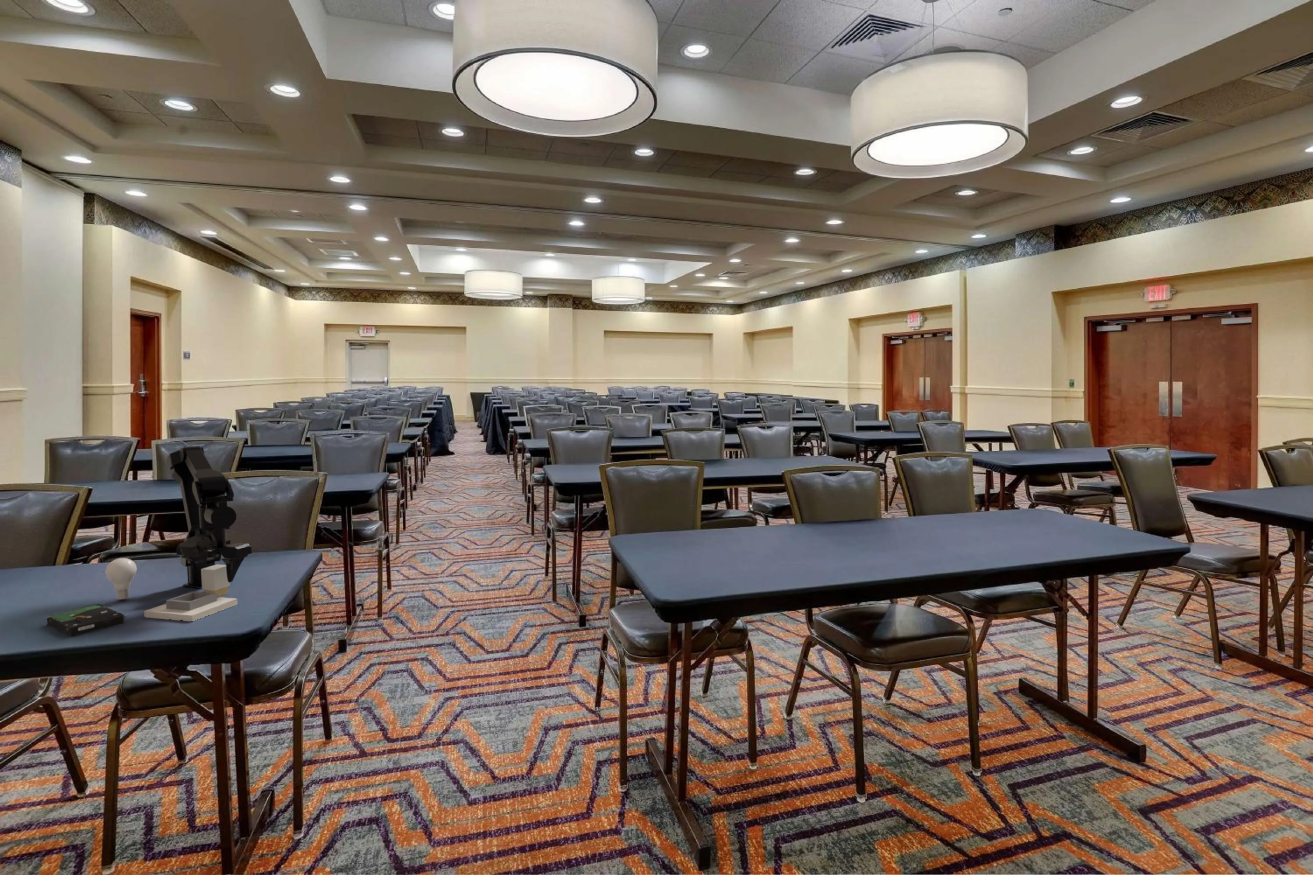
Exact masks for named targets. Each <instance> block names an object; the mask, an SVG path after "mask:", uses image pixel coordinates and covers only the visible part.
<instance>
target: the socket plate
mask: <svg viewBox="0 0 1313 875" xmlns="http://www.w3.org/2000/svg"><path fill="white" fill-rule="evenodd" d="M237 605H238V598H234V597H223V596H219V597H218V594H216V593H208V592H205V591H196V590H195V591H193V590H192V591H191V592H188V593H184V594H181V595H179V596H176V597H172V598H170V599H166V600H165V603H164V604H162V605H158V606H155V607H152V608H149V609H145V610H144V612H143V613H144V618H148V619H149V618H150V619H160V620H161V619H162V620H169V619H171V621H180V620H183V622H191V621H193V622H196V621H198V620H200V618H201V619H203V618H206V617H208V615H209V616H211V615H213V614H216V613H219V612H221V611H223V610H227V609H229V608H231V607H235V606H237ZM218 611H219V612H218ZM205 616H206V617H205ZM197 619H198V620H197ZM195 620H196V621H195Z"/></svg>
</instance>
